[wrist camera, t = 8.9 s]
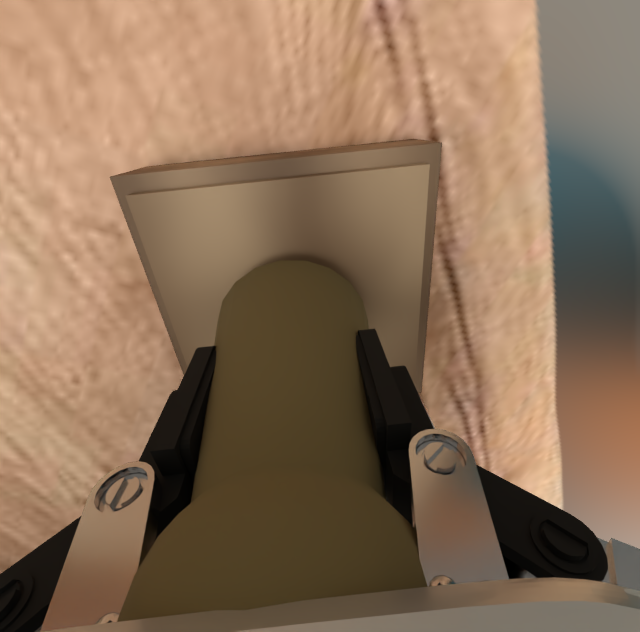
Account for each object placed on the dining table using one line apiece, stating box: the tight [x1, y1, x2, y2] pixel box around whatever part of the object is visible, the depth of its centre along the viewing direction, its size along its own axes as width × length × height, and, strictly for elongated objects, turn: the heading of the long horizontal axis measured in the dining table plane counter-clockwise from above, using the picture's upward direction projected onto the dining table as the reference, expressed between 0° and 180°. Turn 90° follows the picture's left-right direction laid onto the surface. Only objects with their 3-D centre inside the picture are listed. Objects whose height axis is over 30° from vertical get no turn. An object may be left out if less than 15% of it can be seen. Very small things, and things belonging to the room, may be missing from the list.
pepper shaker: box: [117, 260, 428, 622], centre depth 9 cm, size 6×6×11 cm
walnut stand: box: [110, 139, 442, 393], centre depth 16 cm, size 12×12×4 cm
